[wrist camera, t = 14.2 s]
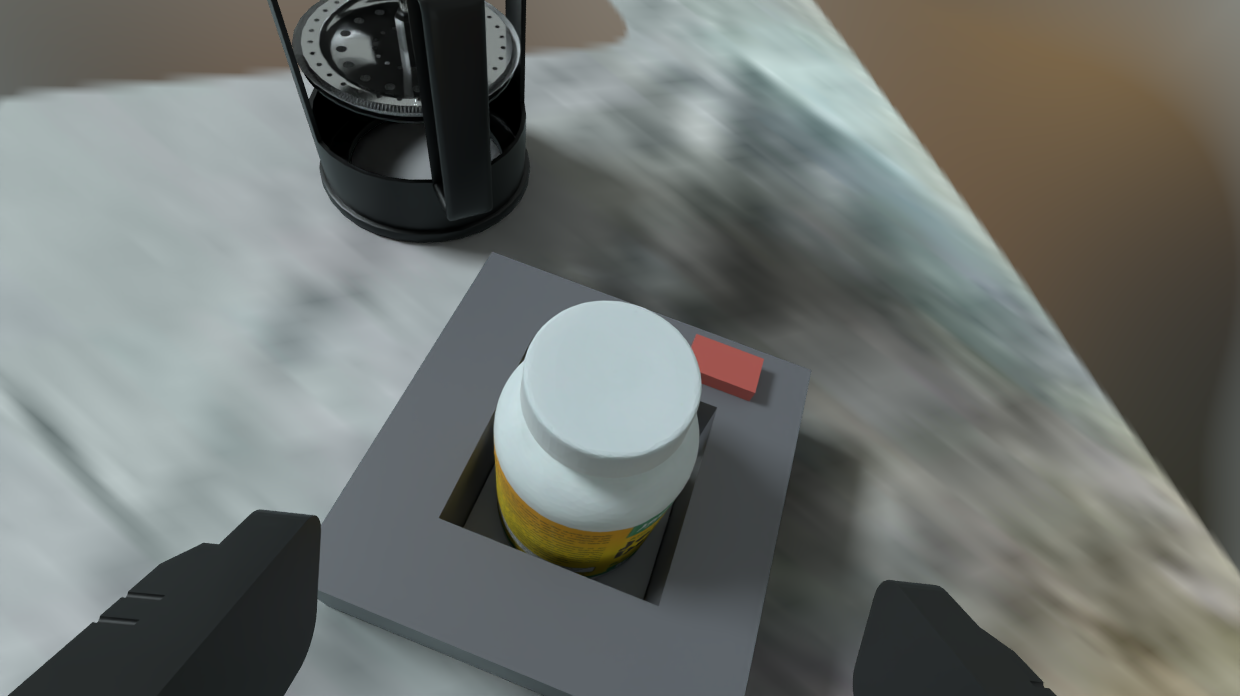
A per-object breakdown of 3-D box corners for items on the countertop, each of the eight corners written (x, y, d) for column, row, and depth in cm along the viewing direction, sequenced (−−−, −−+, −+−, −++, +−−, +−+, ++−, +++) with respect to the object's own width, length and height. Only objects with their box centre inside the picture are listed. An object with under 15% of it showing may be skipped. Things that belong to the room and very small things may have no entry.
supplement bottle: (539, 410, 24) (558, 241, 16) (671, 470, 23) (761, 328, 15) (466, 542, 21) (442, 419, 13) (615, 614, 20) (688, 534, 12)
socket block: (327, 605, 20) (281, 572, 16) (495, 314, 26) (491, 240, 22) (692, 756, 19) (738, 761, 15) (771, 419, 25) (818, 361, 21)
